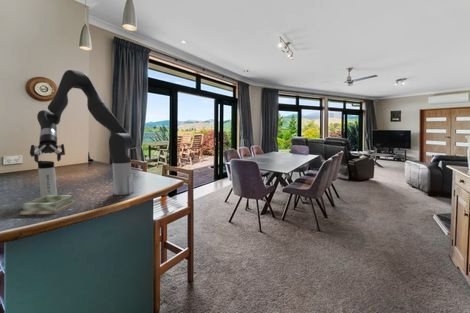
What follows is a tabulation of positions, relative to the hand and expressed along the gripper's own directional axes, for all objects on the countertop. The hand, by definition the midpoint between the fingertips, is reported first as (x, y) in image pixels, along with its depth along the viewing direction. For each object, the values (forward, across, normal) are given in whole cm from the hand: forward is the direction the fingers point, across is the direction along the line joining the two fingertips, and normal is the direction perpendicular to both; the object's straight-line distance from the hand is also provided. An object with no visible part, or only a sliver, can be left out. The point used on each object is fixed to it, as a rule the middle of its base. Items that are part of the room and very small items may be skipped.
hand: (47, 160), depth 118 cm
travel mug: (+19, 0, +8) cm, 21 cm away
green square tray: (+30, +2, -3) cm, 30 cm away
